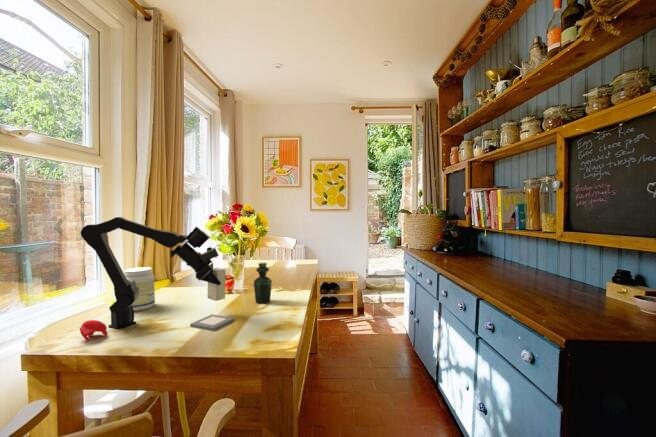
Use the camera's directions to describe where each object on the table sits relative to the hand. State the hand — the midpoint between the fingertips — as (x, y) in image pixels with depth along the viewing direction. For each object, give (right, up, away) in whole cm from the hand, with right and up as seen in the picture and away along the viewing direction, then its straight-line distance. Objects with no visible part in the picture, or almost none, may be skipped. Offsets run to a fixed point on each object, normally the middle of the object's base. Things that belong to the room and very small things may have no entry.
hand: (220, 282), depth 127 cm
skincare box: (-1, -7, 0) cm, 7 cm away
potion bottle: (+14, -13, +17) cm, 26 cm away
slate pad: (+1, -14, -10) cm, 17 cm away
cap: (-35, -14, -22) cm, 44 cm away
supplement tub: (-39, -13, +10) cm, 42 cm away
